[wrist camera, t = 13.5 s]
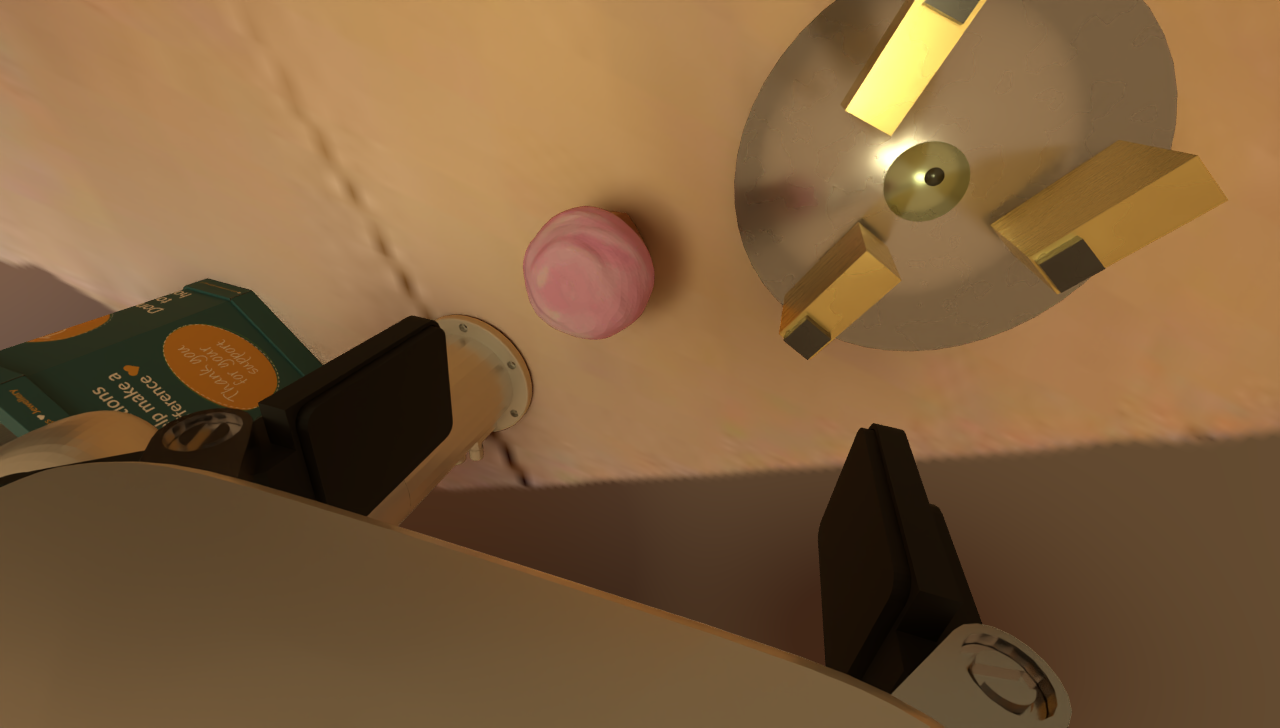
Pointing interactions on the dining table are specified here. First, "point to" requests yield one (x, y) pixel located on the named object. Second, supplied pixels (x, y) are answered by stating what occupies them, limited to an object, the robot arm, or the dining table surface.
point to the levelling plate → (944, 155)
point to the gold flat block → (1107, 211)
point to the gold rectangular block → (907, 59)
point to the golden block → (837, 291)
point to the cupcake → (588, 272)
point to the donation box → (154, 361)
